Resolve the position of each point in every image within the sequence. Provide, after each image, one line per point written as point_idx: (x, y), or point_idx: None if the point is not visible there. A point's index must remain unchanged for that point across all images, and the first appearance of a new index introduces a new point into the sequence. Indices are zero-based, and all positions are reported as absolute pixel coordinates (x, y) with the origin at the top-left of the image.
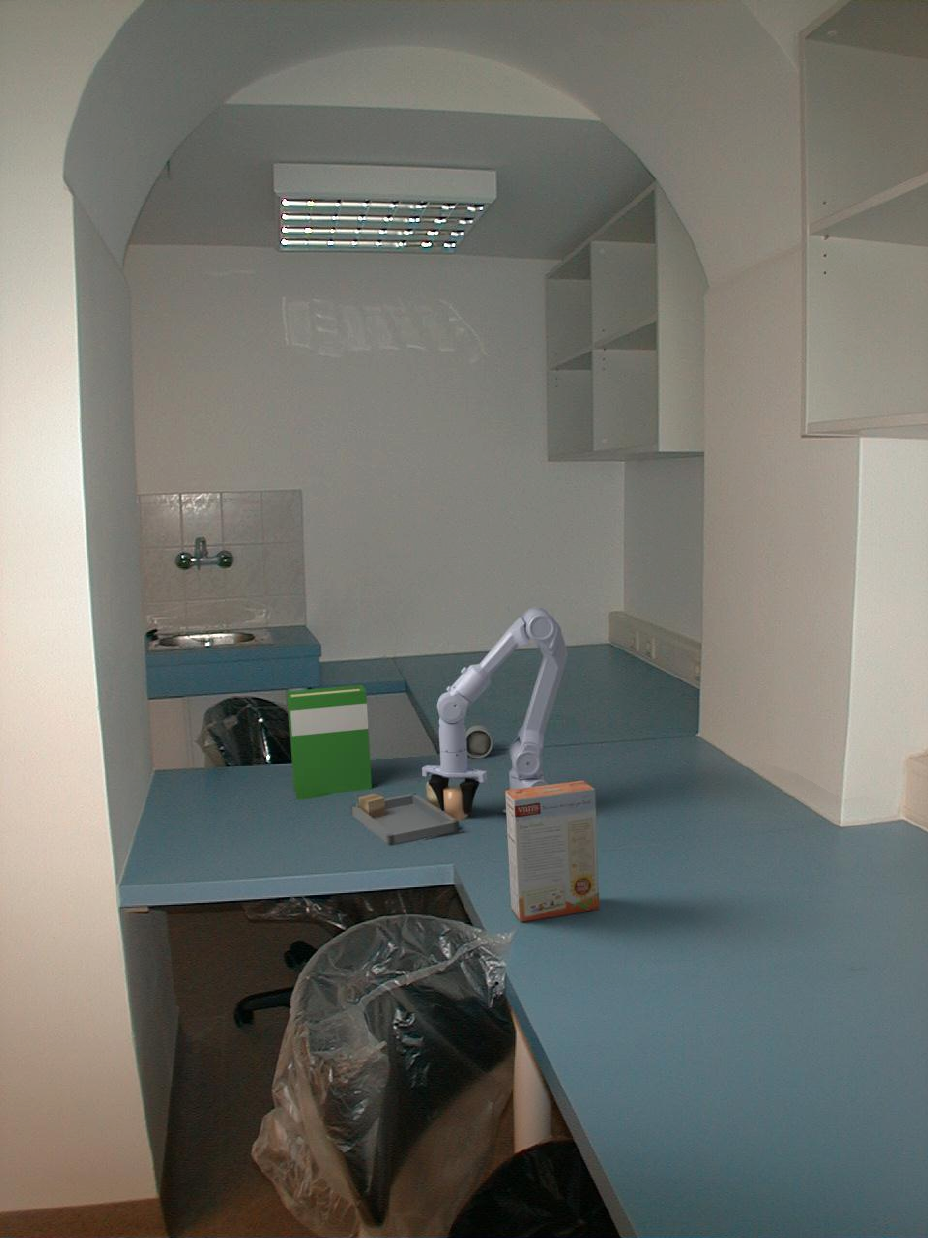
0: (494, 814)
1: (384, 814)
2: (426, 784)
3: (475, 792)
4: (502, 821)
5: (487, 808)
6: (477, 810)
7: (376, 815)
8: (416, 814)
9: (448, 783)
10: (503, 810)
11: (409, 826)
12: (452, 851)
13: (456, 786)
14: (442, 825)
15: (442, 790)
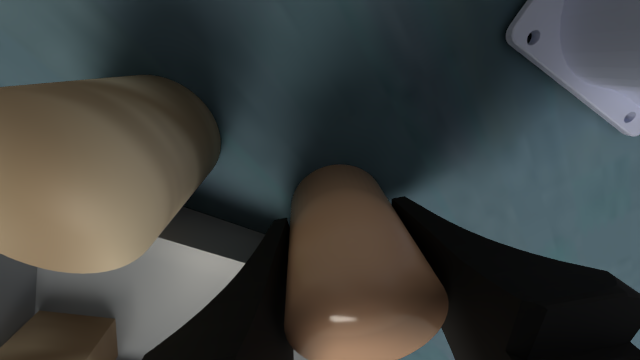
0: (464, 82)
1: (112, 326)
2: (16, 259)
3: (488, 242)
4: (525, 141)
5: (393, 13)
6: (360, 73)
7: (111, 349)
8: (191, 268)
9: (128, 155)
10: (518, 43)
11: None
12: None
13: (340, 286)
14: None
15: (286, 340)
